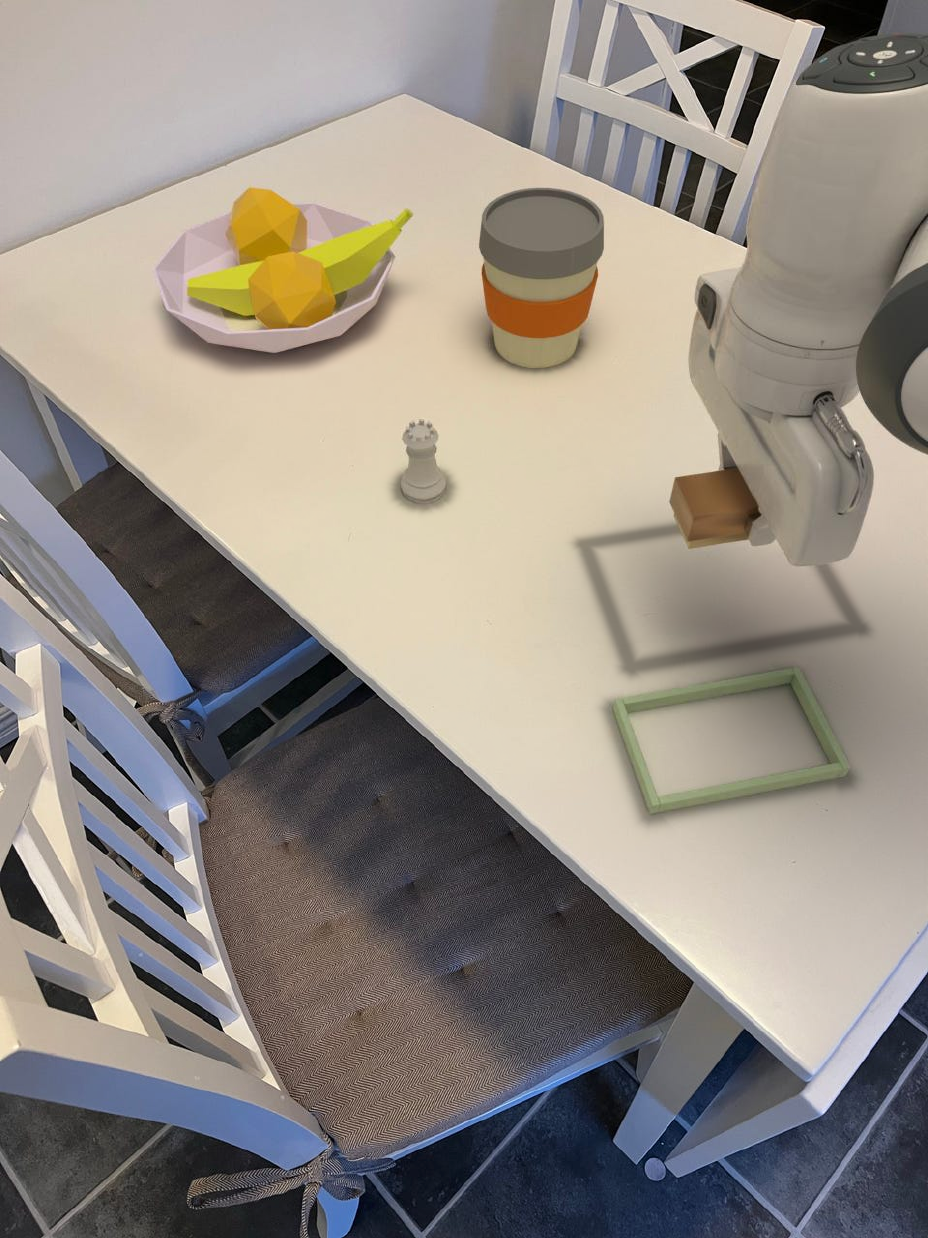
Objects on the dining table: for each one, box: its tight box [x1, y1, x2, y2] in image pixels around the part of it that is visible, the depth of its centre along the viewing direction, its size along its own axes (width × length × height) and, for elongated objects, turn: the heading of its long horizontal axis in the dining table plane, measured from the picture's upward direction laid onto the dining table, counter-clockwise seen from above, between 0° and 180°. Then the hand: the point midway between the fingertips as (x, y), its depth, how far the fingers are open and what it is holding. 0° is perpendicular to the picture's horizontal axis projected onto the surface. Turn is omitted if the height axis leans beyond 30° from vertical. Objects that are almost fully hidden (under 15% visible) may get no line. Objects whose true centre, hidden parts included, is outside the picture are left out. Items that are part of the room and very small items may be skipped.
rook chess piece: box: [400, 418, 447, 505], centre depth 84 cm, size 4×4×8 cm
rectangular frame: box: [612, 666, 852, 815], centre depth 69 cm, size 15×9×2 cm, turn 101°
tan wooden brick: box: [669, 468, 760, 550], centre depth 65 cm, size 10×4×4 cm, turn 101°
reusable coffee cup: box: [478, 187, 605, 369], centre depth 95 cm, size 13×12×15 cm
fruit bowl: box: [151, 186, 414, 354], centre depth 101 cm, size 28×27×11 cm
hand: (743, 510), depth 65 cm, fingers closed on tan wooden brick, 4 cm apart
